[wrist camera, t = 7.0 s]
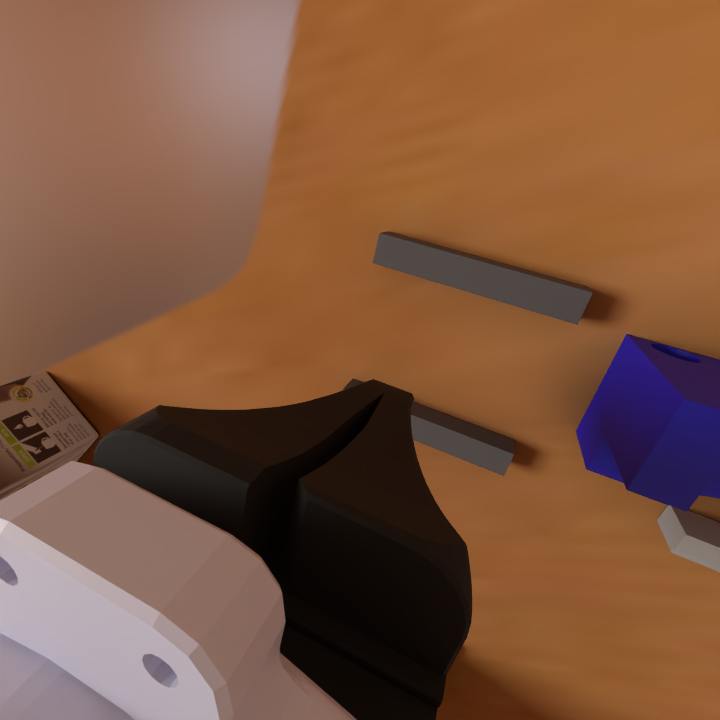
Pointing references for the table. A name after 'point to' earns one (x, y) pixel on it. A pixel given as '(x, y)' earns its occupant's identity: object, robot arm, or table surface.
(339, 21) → the table surface
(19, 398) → the coffee box
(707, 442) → the cable clip
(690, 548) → the bracket
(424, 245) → the guide channel
